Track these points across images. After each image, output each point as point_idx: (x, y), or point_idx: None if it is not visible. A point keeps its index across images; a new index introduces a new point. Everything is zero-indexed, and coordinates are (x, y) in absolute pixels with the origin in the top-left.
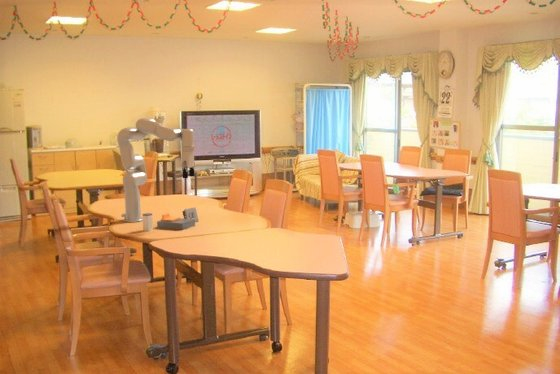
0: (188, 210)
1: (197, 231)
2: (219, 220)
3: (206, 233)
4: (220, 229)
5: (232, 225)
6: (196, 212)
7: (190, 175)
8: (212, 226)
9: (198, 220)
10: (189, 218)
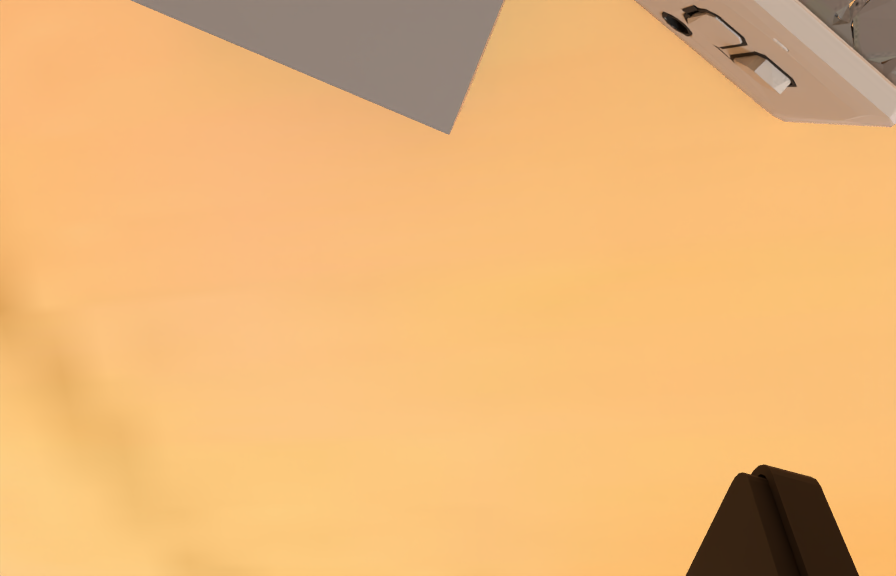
0: (735, 5)
1: (119, 189)
2: (819, 373)
3: (37, 294)
4: (256, 410)
5: (475, 508)
6: (836, 120)
7: (727, 545)
8: (419, 322)
9: (780, 119)
10: (669, 9)
